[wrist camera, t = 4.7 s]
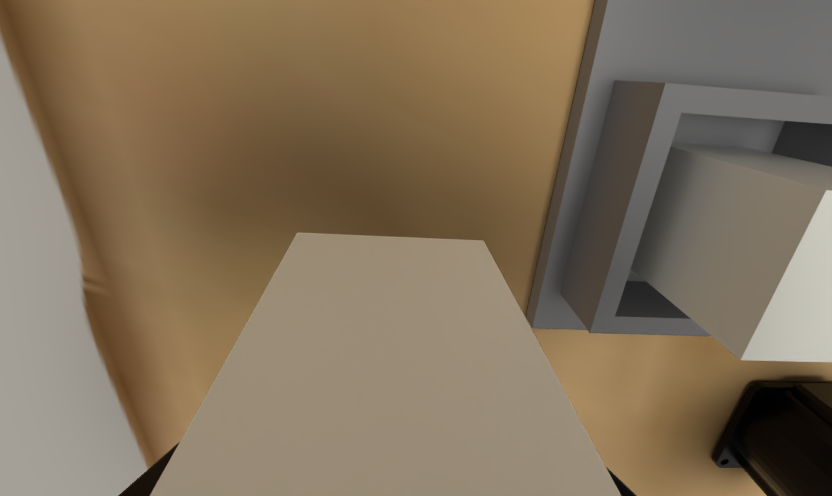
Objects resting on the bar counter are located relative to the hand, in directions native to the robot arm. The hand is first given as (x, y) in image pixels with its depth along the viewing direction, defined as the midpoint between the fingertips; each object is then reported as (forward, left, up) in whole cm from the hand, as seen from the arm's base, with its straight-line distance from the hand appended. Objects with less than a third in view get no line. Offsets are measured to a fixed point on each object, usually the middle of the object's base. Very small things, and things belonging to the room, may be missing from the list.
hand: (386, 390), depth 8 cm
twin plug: (+1, -12, -10) cm, 15 cm away
